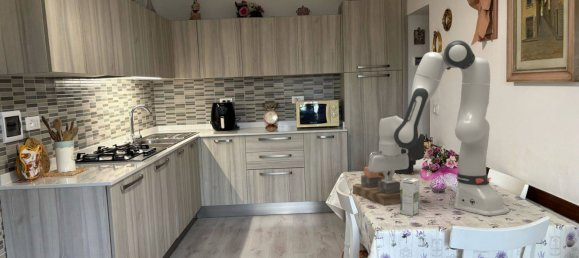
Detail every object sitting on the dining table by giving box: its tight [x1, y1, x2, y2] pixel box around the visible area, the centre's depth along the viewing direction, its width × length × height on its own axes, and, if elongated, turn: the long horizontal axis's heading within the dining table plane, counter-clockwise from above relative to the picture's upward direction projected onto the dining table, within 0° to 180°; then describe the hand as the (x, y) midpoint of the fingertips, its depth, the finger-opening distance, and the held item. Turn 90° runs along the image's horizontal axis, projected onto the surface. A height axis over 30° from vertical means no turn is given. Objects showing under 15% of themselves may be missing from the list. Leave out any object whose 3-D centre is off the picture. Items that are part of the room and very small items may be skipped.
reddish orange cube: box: [363, 166, 379, 178], centre depth 215 cm, size 5×5×5 cm
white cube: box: [381, 178, 398, 183], centre depth 202 cm, size 5×5×5 cm
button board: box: [352, 174, 401, 206], centre depth 209 cm, size 26×14×9 cm, turn 24°
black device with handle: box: [395, 133, 425, 175], centre depth 264 cm, size 15×18×30 cm
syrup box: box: [399, 177, 420, 217], centre depth 181 cm, size 6×6×14 cm
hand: (388, 180), depth 202 cm, fingers closed, pressing on white cube
